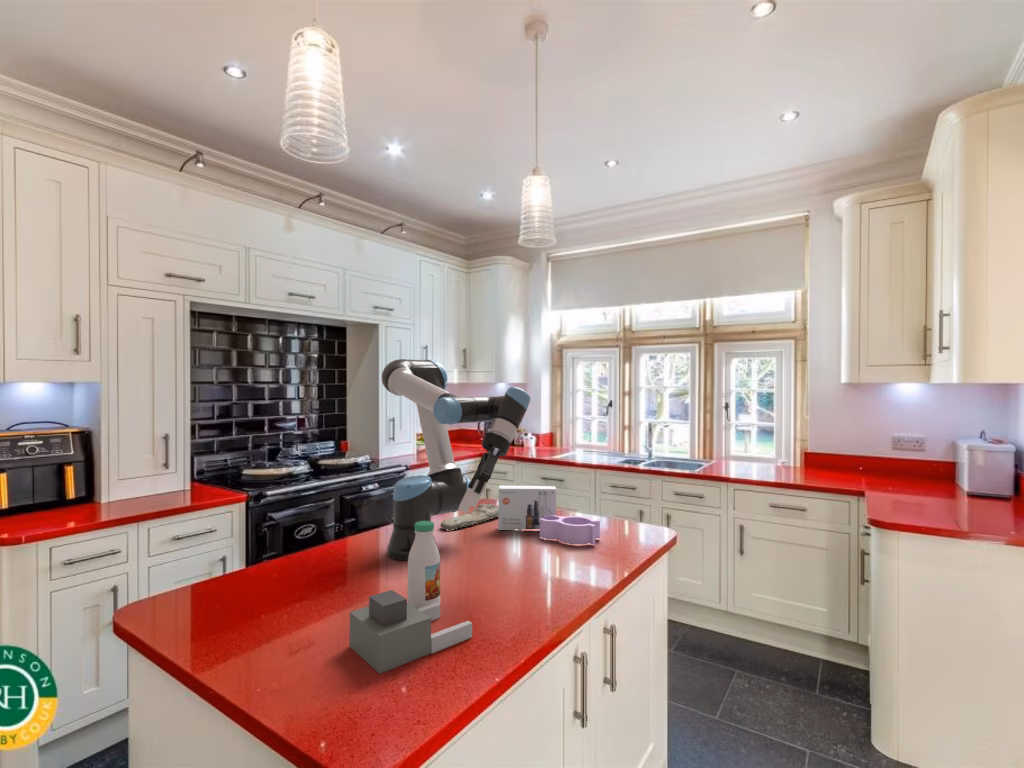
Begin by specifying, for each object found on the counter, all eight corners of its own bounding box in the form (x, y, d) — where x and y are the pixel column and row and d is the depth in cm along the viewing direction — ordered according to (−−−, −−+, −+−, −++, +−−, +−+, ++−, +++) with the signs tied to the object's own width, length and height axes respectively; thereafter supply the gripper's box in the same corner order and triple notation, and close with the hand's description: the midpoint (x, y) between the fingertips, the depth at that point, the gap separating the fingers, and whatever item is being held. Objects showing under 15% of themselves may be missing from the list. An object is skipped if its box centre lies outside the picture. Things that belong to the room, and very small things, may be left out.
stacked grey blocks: (349, 646, 104) (349, 591, 104) (436, 615, 118) (436, 567, 118) (380, 674, 94) (380, 614, 94) (472, 637, 108) (472, 584, 108)
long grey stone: (433, 532, 190) (452, 539, 184) (433, 518, 190) (452, 524, 183) (495, 509, 217) (514, 514, 211) (495, 497, 217) (514, 502, 210)
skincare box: (498, 532, 185) (498, 488, 185) (498, 527, 191) (498, 485, 191) (556, 532, 185) (556, 488, 185) (555, 528, 191) (555, 485, 191)
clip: (535, 541, 175) (535, 521, 175) (547, 532, 186) (547, 512, 186) (592, 549, 167) (592, 527, 167) (601, 538, 178) (601, 518, 178)
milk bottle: (412, 615, 118) (413, 528, 118) (403, 603, 125) (404, 520, 125) (444, 609, 122) (445, 524, 122) (434, 597, 128) (434, 517, 128)
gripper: (522, 433, 132) (488, 509, 124) (501, 453, 155) (471, 519, 146) (496, 420, 132) (460, 495, 123) (478, 442, 154) (447, 507, 146)
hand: (466, 508), depth 135 cm, fingers open, 13 cm apart
